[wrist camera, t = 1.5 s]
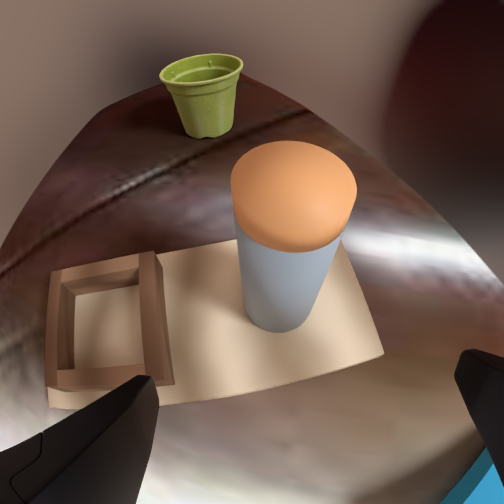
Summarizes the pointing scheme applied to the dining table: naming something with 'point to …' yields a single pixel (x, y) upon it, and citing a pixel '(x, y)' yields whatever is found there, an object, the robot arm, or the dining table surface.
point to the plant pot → (204, 92)
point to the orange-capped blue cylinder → (288, 227)
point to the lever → (478, 484)
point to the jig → (191, 329)
